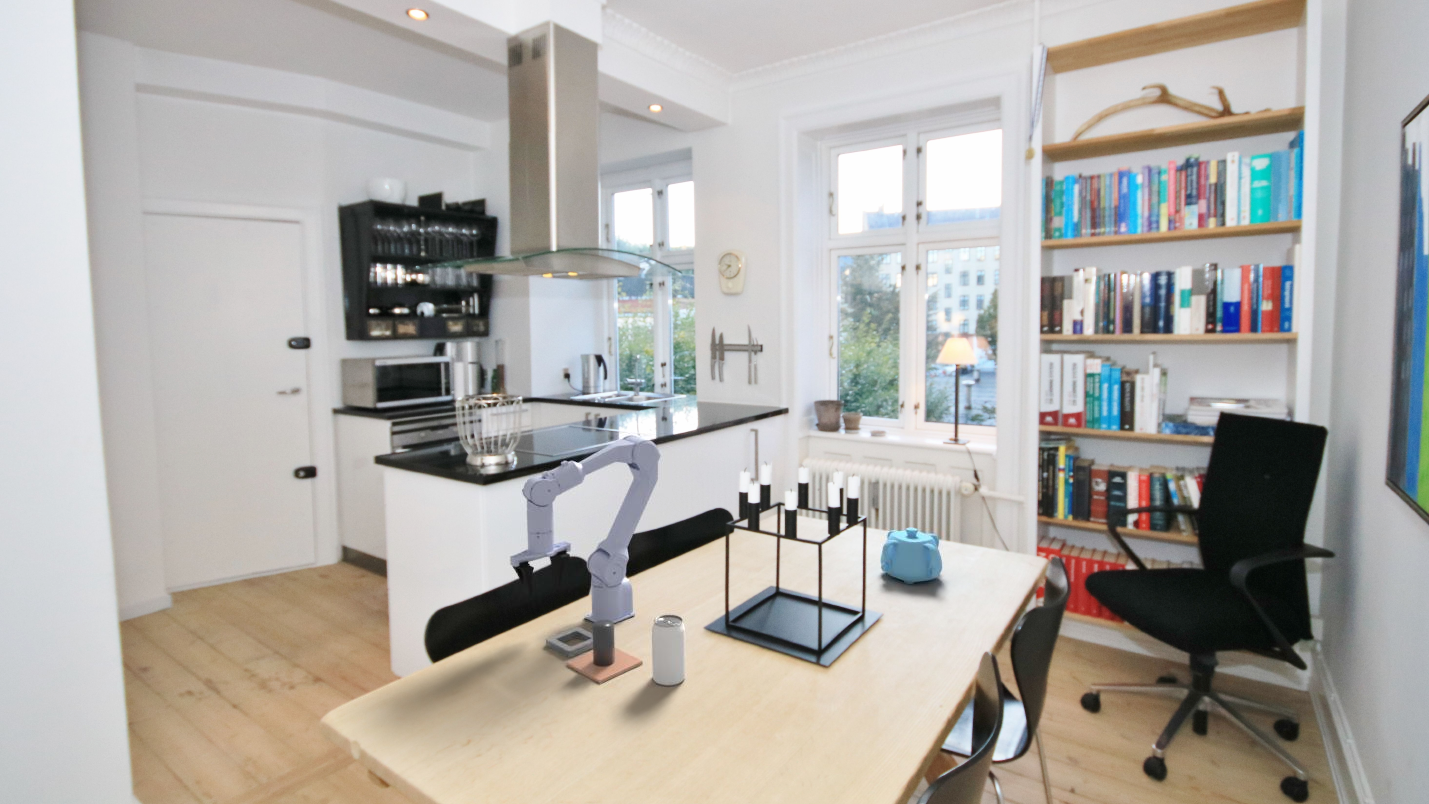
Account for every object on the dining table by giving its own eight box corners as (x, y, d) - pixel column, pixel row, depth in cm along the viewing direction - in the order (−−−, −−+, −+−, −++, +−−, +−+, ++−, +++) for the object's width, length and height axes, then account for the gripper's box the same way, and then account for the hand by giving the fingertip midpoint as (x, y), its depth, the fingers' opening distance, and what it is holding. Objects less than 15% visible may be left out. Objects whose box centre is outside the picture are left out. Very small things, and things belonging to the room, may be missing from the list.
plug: (606, 654, 150) (605, 617, 149) (619, 660, 147) (618, 623, 146) (589, 661, 146) (587, 624, 146) (602, 668, 143) (601, 630, 143)
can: (670, 667, 145) (670, 610, 144) (692, 678, 141) (691, 620, 139) (646, 678, 141) (645, 620, 139) (667, 690, 136) (666, 630, 135)
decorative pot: (873, 581, 193) (874, 532, 191) (887, 563, 207) (888, 517, 205) (935, 591, 185) (936, 540, 184) (945, 571, 200) (947, 524, 198)
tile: (609, 647, 154) (608, 644, 154) (642, 663, 147) (642, 660, 147) (566, 665, 146) (566, 662, 146) (600, 683, 139) (599, 680, 139)
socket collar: (578, 632, 161) (578, 626, 161) (601, 644, 156) (601, 637, 155) (546, 645, 155) (545, 638, 155) (569, 658, 149) (569, 651, 149)
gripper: (521, 541, 151) (524, 602, 152) (578, 526, 161) (579, 584, 163) (504, 534, 155) (506, 594, 157) (559, 521, 166) (561, 577, 168)
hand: (542, 588), depth 160 cm, fingers open, 7 cm apart
